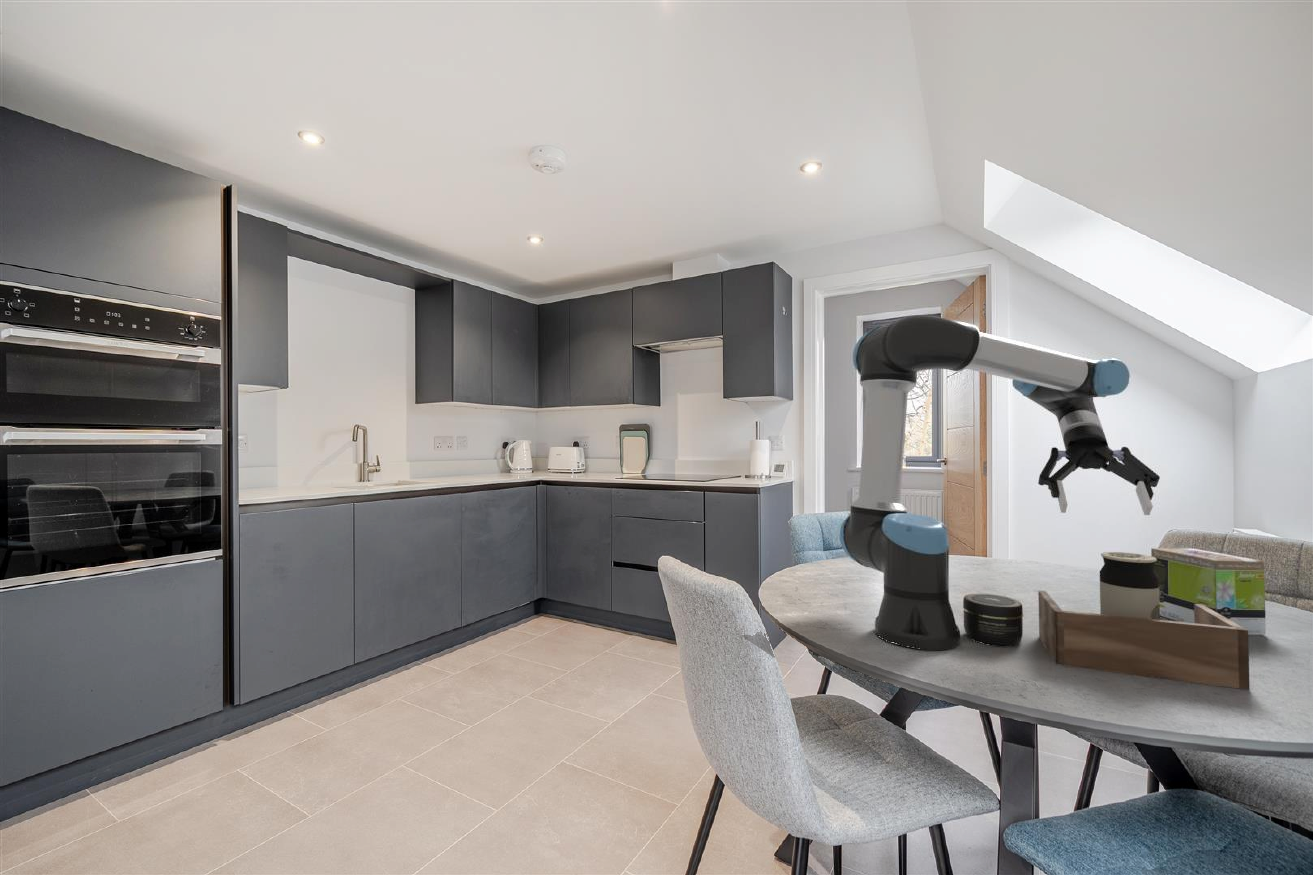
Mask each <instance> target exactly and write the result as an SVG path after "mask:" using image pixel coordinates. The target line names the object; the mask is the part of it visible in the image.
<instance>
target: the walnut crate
mask: <svg viewBox="0 0 1313 875" xmlns="http://www.w3.org/2000/svg"><path fill="white" fill-rule="evenodd" d="M1037 591H1038V631H1039V632H1038V634H1039V635H1038V636H1039V639H1040V641H1041V642H1042V644H1043V645H1044V647H1045V649H1046V650H1047V652H1048V653H1049V655H1050V657H1051V658H1052V660H1053V662H1054V663H1055V665H1058V666H1065V667H1066V666H1067V667H1073V668H1079V669H1080V668H1081V669H1088V670H1089V669H1090V670H1097V671H1103V672H1104V671H1105V672H1113V673H1119V674H1126V675H1133V676H1134V675H1136V676H1143V677H1150V678H1156V679H1157V678H1159V679H1163V680H1164V679H1165V680H1174V681H1180V682H1187V683H1196V684H1202V685H1203V684H1204V685H1211V686H1218V687H1224V688H1225V687H1226V688H1232V689H1233V688H1234V689H1240V690H1241V689H1242V690H1249V691H1250V690H1251V689H1250V687H1251V686H1250V685H1251V684H1250V656H1249V655H1250V652H1249V651H1250V648H1249V635H1248V630H1247V629H1245V628H1243V627H1241V626H1239V625H1238V624H1236V623H1234V622H1232V621H1231V620H1229V619H1227V618H1225V617H1224V616H1222V615H1220V614H1218V613H1217V612H1215V611H1213V610H1211V609H1210V608H1208V607H1206V606H1204V605H1200V604H1194V621H1195V623H1186V622H1178V621H1175V620H1166V619H1165V620H1164V619H1160V620H1156V619H1145V618H1135V617H1125V616H1114V615H1104V614H1100V613H1095V612H1094V613H1092V612H1083V611H1081V612H1080V611H1074V610H1073V611H1071V610H1062V609H1061V607H1060V606H1059V605H1058V604H1057V603H1056V602H1055V600H1054V599H1053V598H1052V597H1051V596H1050V594H1049V592H1047V591H1046V590H1045V591H1044V590H1037Z"/></svg>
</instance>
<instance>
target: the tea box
mask: <svg viewBox="0 0 1313 875" xmlns="http://www.w3.org/2000/svg"><path fill="white" fill-rule="evenodd" d="M1150 554H1151V555H1150V556H1152V557H1154V558H1156V559H1157V561H1156V562H1155V563H1154V571H1155V573H1156V574H1157V576H1158V577H1159V602H1160V617H1164V618H1167V619H1169V620H1171V621H1176V622H1186V623H1195V621H1194V604H1200V605H1204V606H1206V607H1208V608H1210V609H1211V610H1213V611H1215V612H1217V613H1218V614H1220V615H1222V616H1224V617H1225V618H1227V619H1229V620H1231V621H1232V622H1234V623H1236V624H1238V625H1239V626H1241V627H1243V628H1245V629H1247V630H1248V636H1265V635H1266V624H1267V623H1266V619H1267V618H1266V591H1265V588H1266V586H1265V585H1266V584H1265V562H1264V560H1261V559H1256V558H1248V557H1244V556H1239V555H1237V556H1236V555H1233V554H1228V553H1227V554H1226V553H1221V552H1216V551H1210V550H1204V549H1198V548H1188V547H1186V548H1185V547H1184V548H1178V547H1176V548H1174V547H1173V548H1172V547H1170V548H1169V547H1166V548H1163V547H1158V548H1157V547H1154V548H1151V553H1150Z"/></svg>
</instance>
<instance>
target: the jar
mask: <svg viewBox="0 0 1313 875" xmlns="http://www.w3.org/2000/svg"><path fill="white" fill-rule="evenodd" d="M962 609H963V628H964V631H965V635H966V636H967V637H968V638H969V639H970V638H971V639H970V640H972V639H973V640H972V641H974V640H975V641H974V642H976V641H977V642H976V643H979V642H982V643H984V645H986V644H989V645H988V646H992V645H993V647H1000V646H1006V647H1007V646H1011V647H1015V646H1018V645H1019V644H1020V643H1021V642H1022V638H1023V631H1024V630H1023V625H1024V624H1023V617H1024V612H1023V604H1022V602H1020V601H1019V600H1017V599H1015V598H1012V597H1008V596H1005V595H998V594H991V593H970V594H967V595H966V594H965V596H964V597H963V600H962ZM982 643H981V644H982Z"/></svg>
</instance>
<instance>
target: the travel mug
mask: <svg viewBox="0 0 1313 875" xmlns="http://www.w3.org/2000/svg"><path fill="white" fill-rule="evenodd" d="M1100 556H1101V557H1102V559H1103V566H1102V567H1101V568H1100V570H1099V603H1100V605H1099V609H1100V613H1099V614H1104V615H1114V616H1125V617H1135V618H1145V619H1156V620H1161V616H1160V602H1159V577H1158V576H1157V574H1156V573H1155V571H1154V563H1155V562H1156V561H1157V559H1156V558H1154V557H1152V556H1151V555H1147V554H1142V553H1135V552H1125V551H1123V552H1122V551H1121V552H1120V551H1105V552H1102V553H1101V554H1100Z"/></svg>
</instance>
